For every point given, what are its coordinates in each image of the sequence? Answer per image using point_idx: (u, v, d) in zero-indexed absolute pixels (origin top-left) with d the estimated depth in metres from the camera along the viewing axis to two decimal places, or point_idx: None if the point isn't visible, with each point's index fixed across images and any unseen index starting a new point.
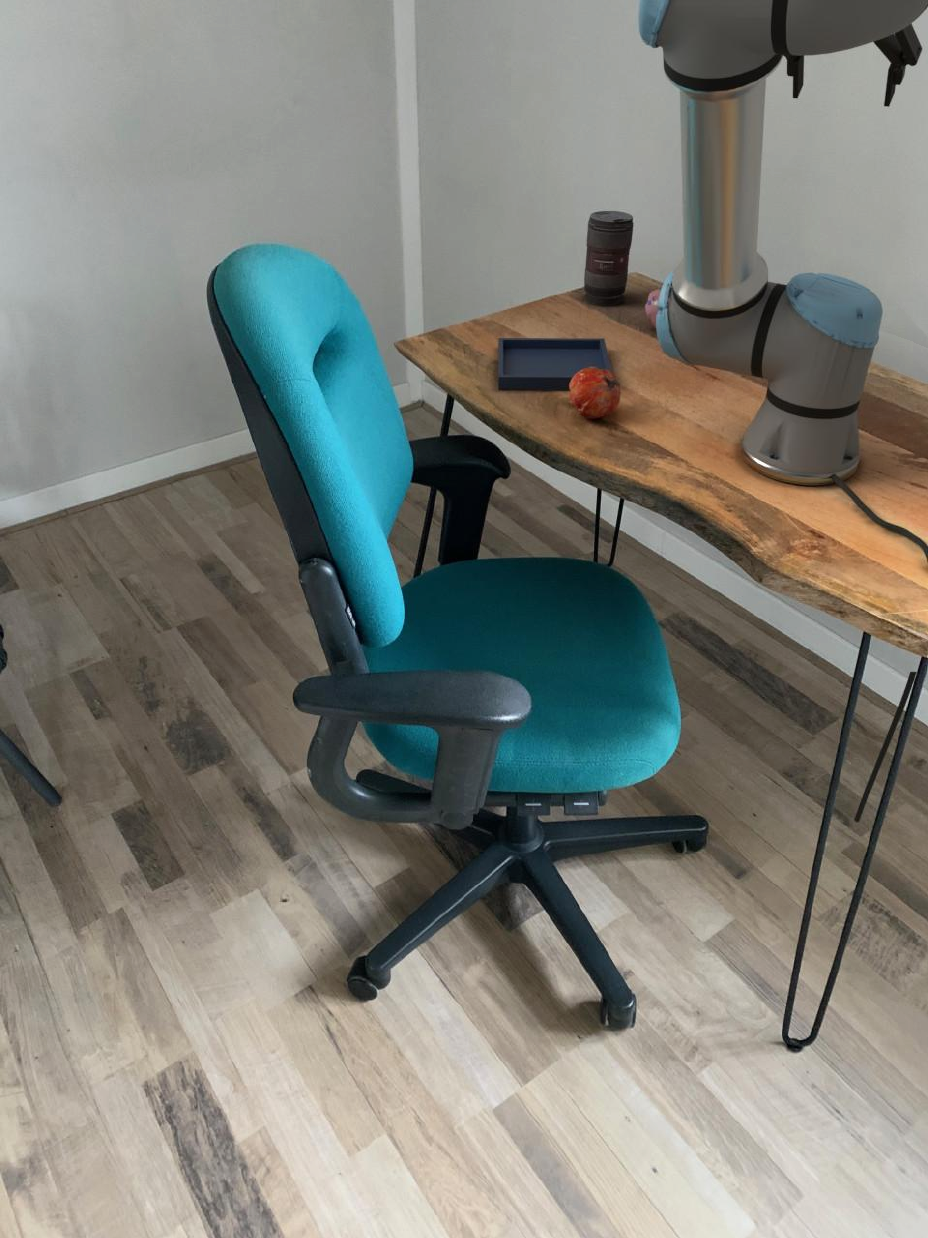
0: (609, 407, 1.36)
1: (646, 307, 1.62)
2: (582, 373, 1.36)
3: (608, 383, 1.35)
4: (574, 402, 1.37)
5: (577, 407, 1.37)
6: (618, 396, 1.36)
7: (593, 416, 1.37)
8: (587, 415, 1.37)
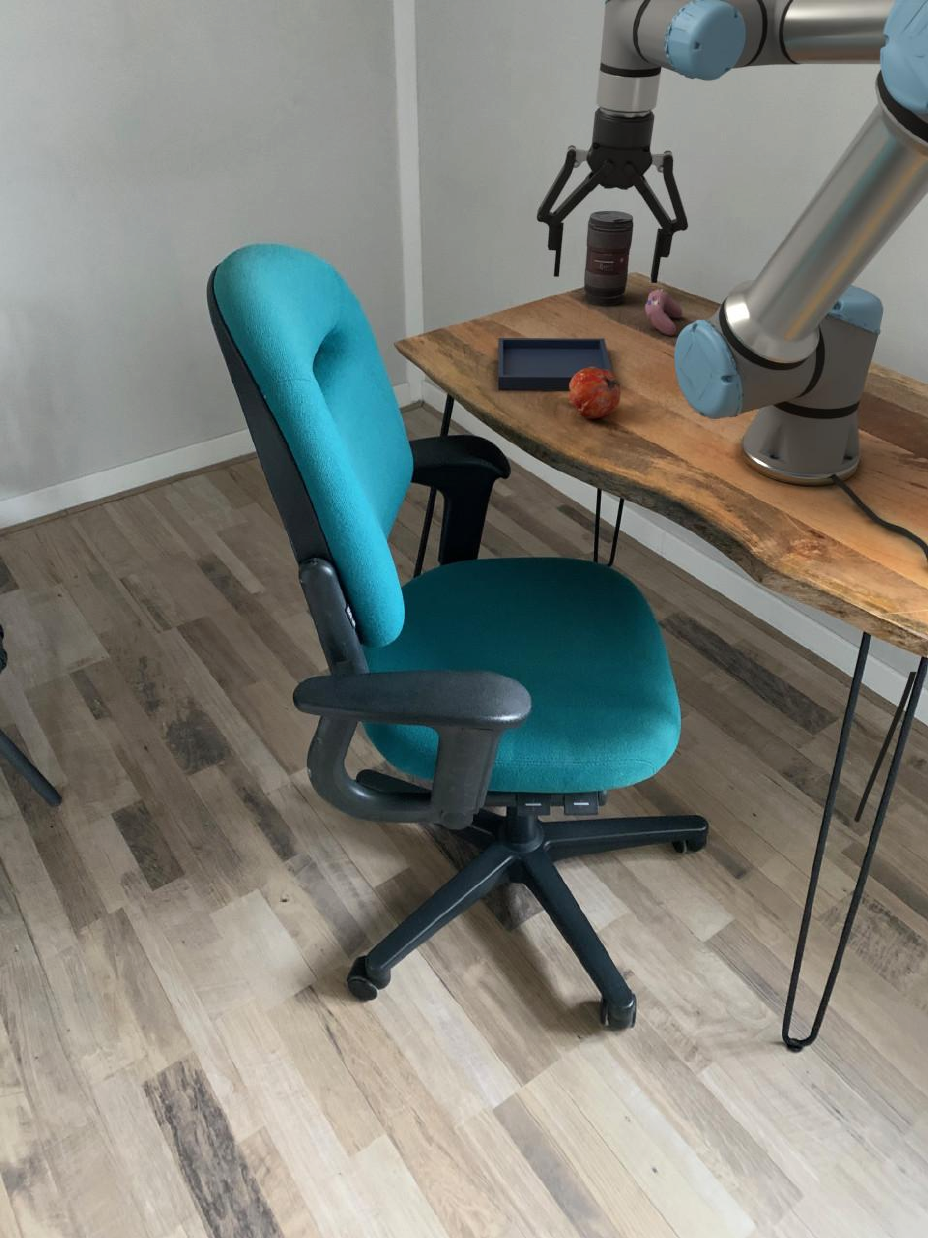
0: (609, 407, 1.36)
1: (646, 307, 1.62)
2: (582, 373, 1.36)
3: (608, 383, 1.35)
4: (574, 402, 1.37)
5: (577, 407, 1.37)
6: (618, 396, 1.36)
7: (593, 416, 1.37)
8: (587, 415, 1.37)
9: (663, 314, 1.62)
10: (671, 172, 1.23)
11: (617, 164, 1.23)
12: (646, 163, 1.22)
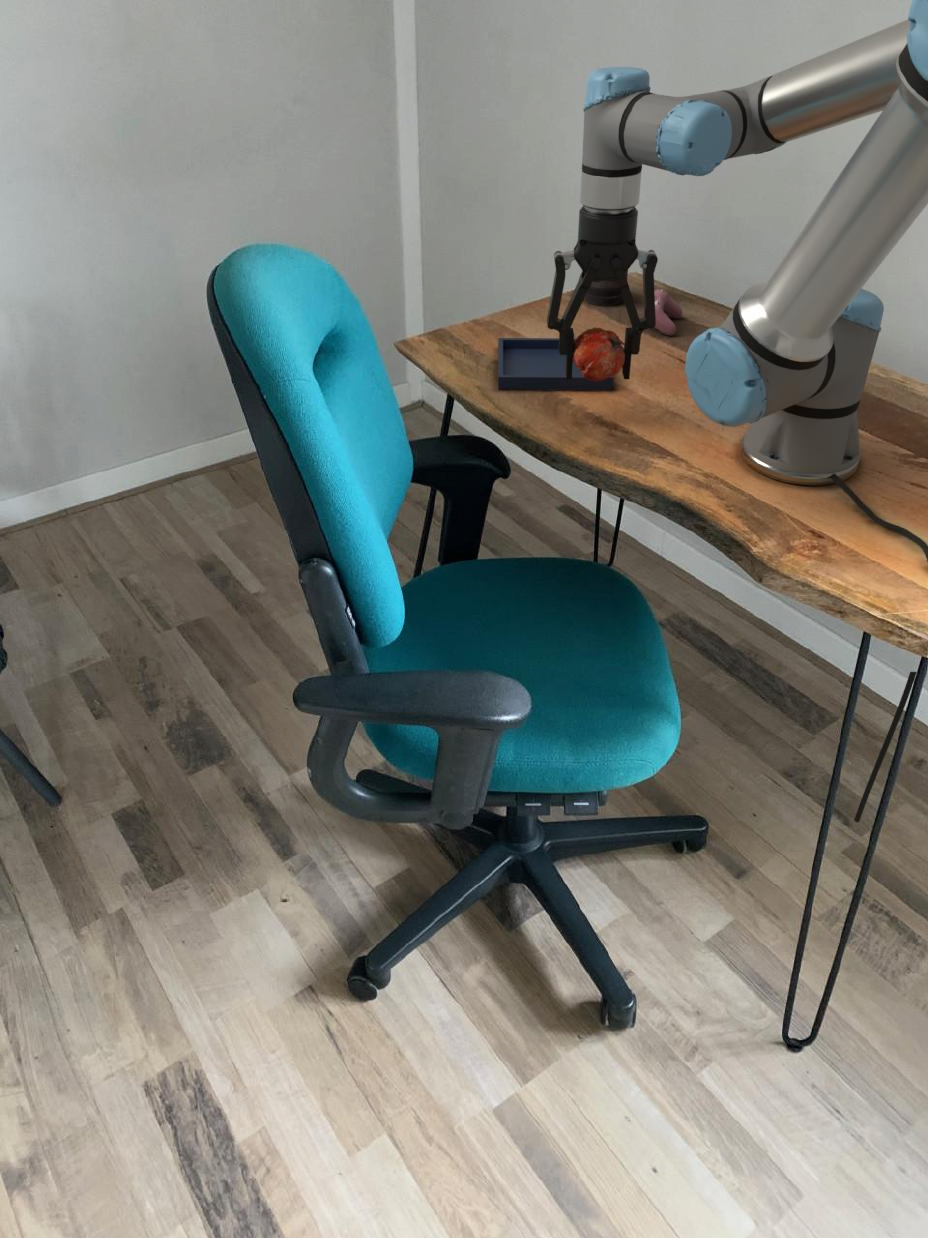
0: (613, 369, 1.33)
1: None
2: (586, 333, 1.32)
3: (612, 343, 1.31)
4: (577, 364, 1.33)
5: (581, 369, 1.33)
6: (623, 357, 1.32)
7: (597, 378, 1.33)
8: (591, 377, 1.33)
9: (663, 314, 1.62)
10: (653, 271, 1.26)
11: (604, 258, 1.25)
12: (632, 256, 1.25)
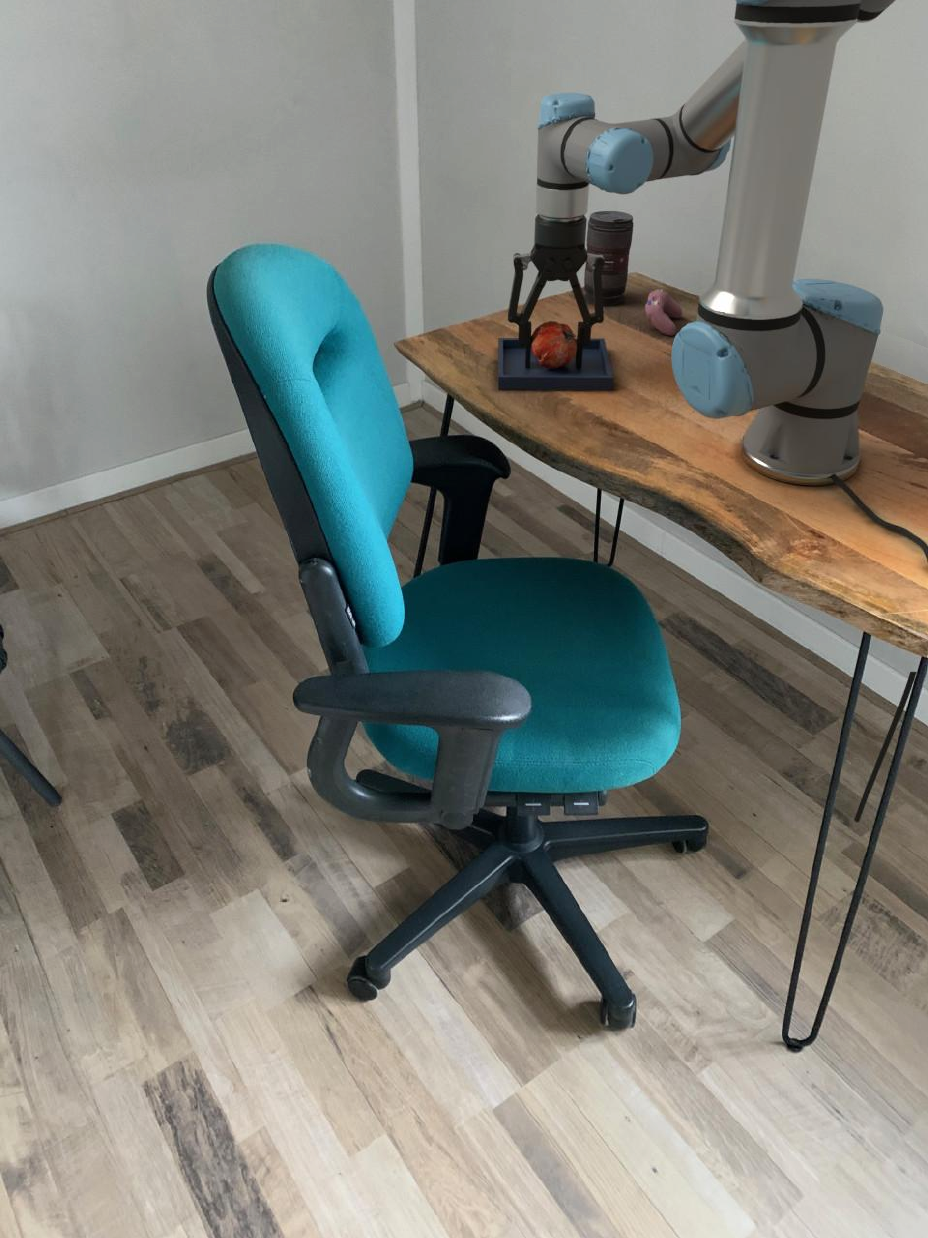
0: (566, 358, 1.49)
1: (646, 307, 1.62)
2: (542, 326, 1.48)
3: (565, 335, 1.47)
4: (535, 353, 1.49)
5: (538, 358, 1.50)
6: (575, 348, 1.49)
7: (552, 366, 1.50)
8: (547, 365, 1.50)
9: (663, 314, 1.62)
10: (600, 272, 1.42)
11: (557, 260, 1.41)
12: (582, 259, 1.41)
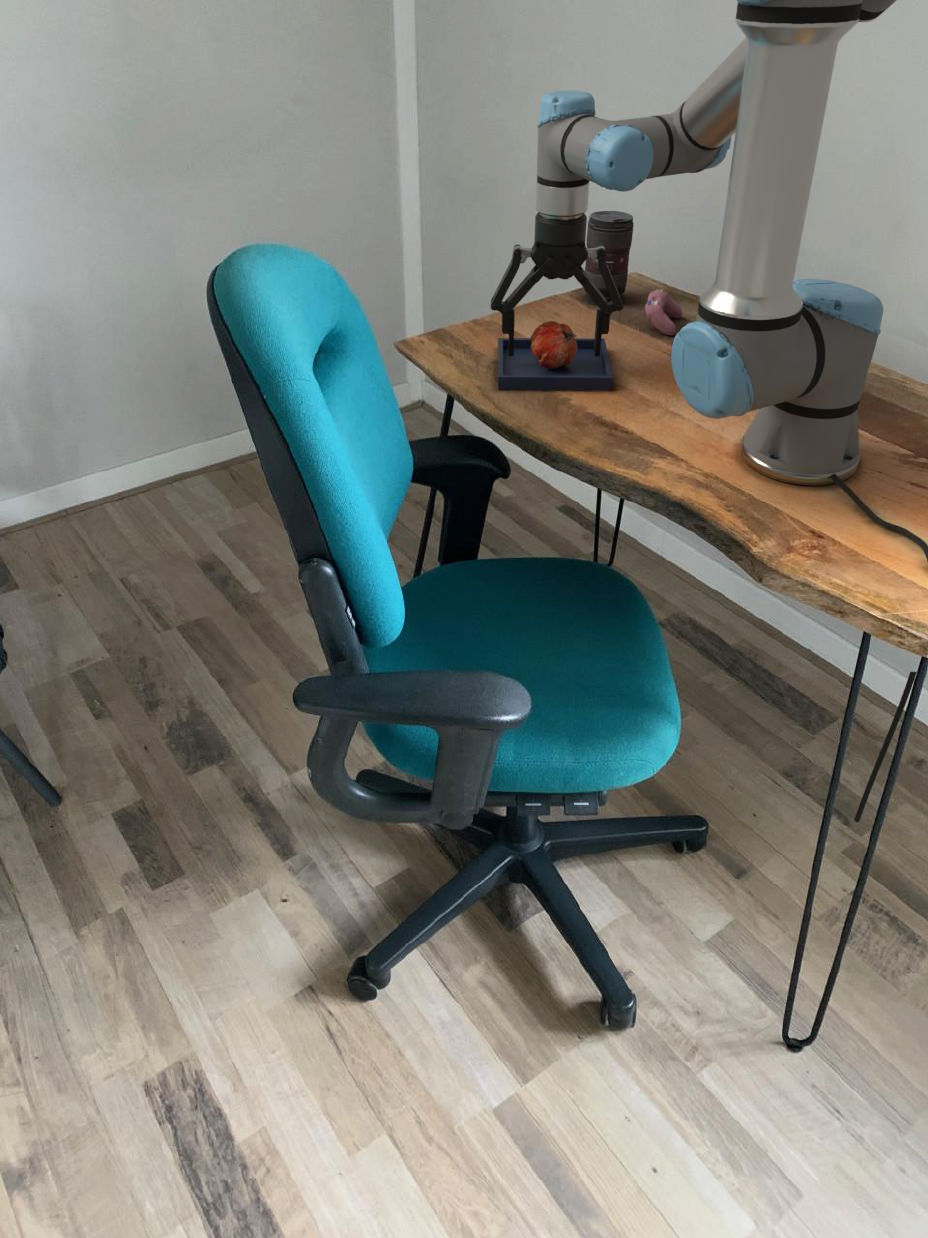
0: (566, 358, 1.49)
1: (646, 307, 1.62)
2: (542, 326, 1.48)
3: (565, 335, 1.47)
4: (535, 353, 1.49)
5: (537, 358, 1.50)
6: (575, 348, 1.49)
7: (552, 366, 1.50)
8: (547, 365, 1.50)
9: (663, 314, 1.62)
10: (605, 263, 1.41)
11: (558, 258, 1.41)
12: (583, 256, 1.41)
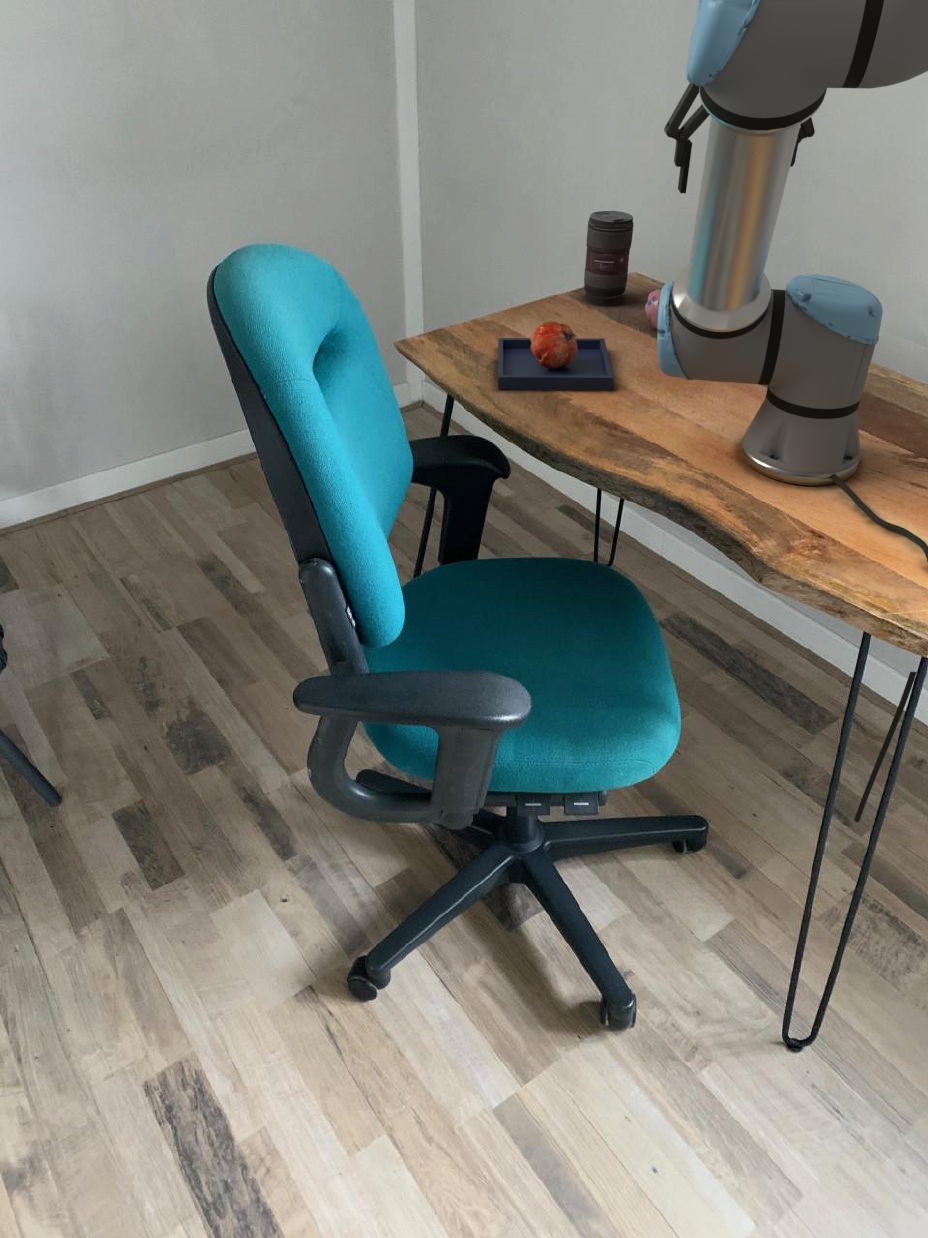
0: (566, 358, 1.49)
1: (646, 307, 1.62)
2: (542, 326, 1.48)
3: (565, 335, 1.47)
4: (535, 353, 1.49)
5: (537, 358, 1.50)
6: (575, 348, 1.49)
7: (552, 366, 1.50)
8: (547, 365, 1.50)
9: None
10: None
11: None
12: None
